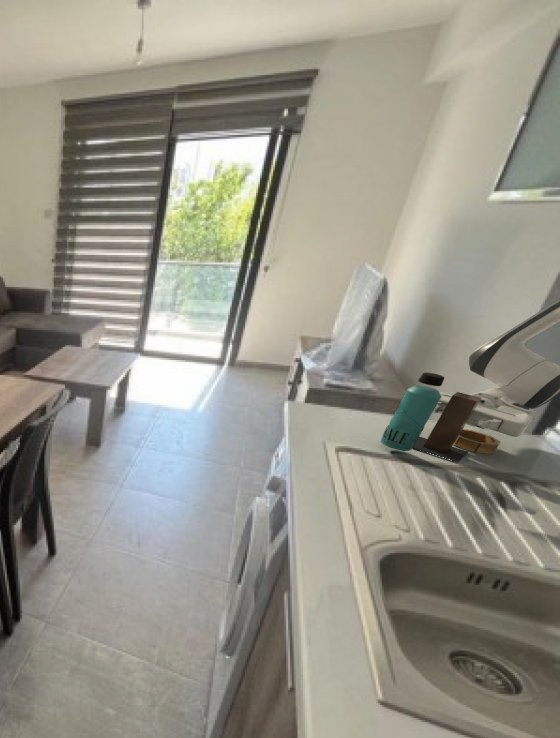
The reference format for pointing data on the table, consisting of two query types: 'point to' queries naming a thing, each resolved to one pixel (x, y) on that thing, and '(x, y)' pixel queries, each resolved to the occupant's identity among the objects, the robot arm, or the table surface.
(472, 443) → the ring stand
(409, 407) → the beverage bottle
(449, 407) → the peg
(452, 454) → the mat
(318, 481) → the table surface
